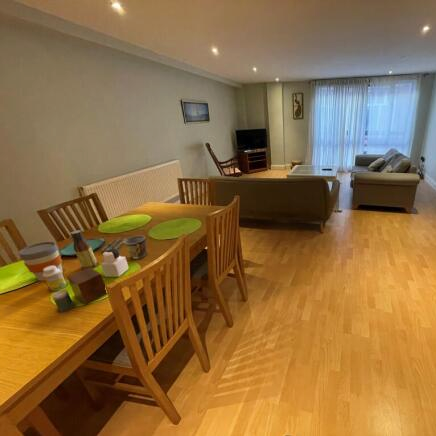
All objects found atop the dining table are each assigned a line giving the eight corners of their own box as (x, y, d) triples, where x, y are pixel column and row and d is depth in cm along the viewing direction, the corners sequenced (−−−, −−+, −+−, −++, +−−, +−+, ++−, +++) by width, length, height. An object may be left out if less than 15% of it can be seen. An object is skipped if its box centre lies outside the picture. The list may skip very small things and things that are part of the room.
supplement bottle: (52, 285, 108) (43, 266, 104) (68, 281, 110) (60, 263, 107) (47, 292, 103) (38, 273, 100) (64, 289, 106) (55, 269, 102)
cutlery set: (75, 242, 146) (73, 239, 145) (129, 238, 151) (128, 235, 150) (51, 260, 128) (49, 256, 127) (113, 254, 133) (112, 250, 132)
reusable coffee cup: (24, 281, 111) (9, 253, 105) (53, 266, 122) (41, 240, 116) (47, 284, 109) (34, 255, 103) (74, 268, 120) (63, 242, 115)
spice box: (86, 304, 97) (77, 284, 93) (75, 296, 101) (66, 276, 98) (108, 293, 103) (101, 273, 99) (96, 285, 108) (89, 267, 104)
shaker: (69, 314, 95) (46, 310, 88) (64, 310, 97) (41, 306, 90) (83, 295, 98) (61, 290, 91) (78, 291, 100) (56, 286, 93)
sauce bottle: (92, 261, 126) (80, 227, 119) (100, 264, 124) (88, 229, 116) (78, 268, 120) (64, 233, 113) (86, 271, 118) (72, 235, 111)
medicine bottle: (115, 268, 121) (108, 247, 116) (129, 268, 120) (122, 247, 116) (104, 276, 114) (96, 254, 109) (119, 277, 114) (111, 255, 109)
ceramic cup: (126, 255, 132) (121, 239, 128) (146, 249, 138) (142, 233, 134) (132, 265, 123) (127, 248, 119) (153, 257, 130) (149, 241, 126)
